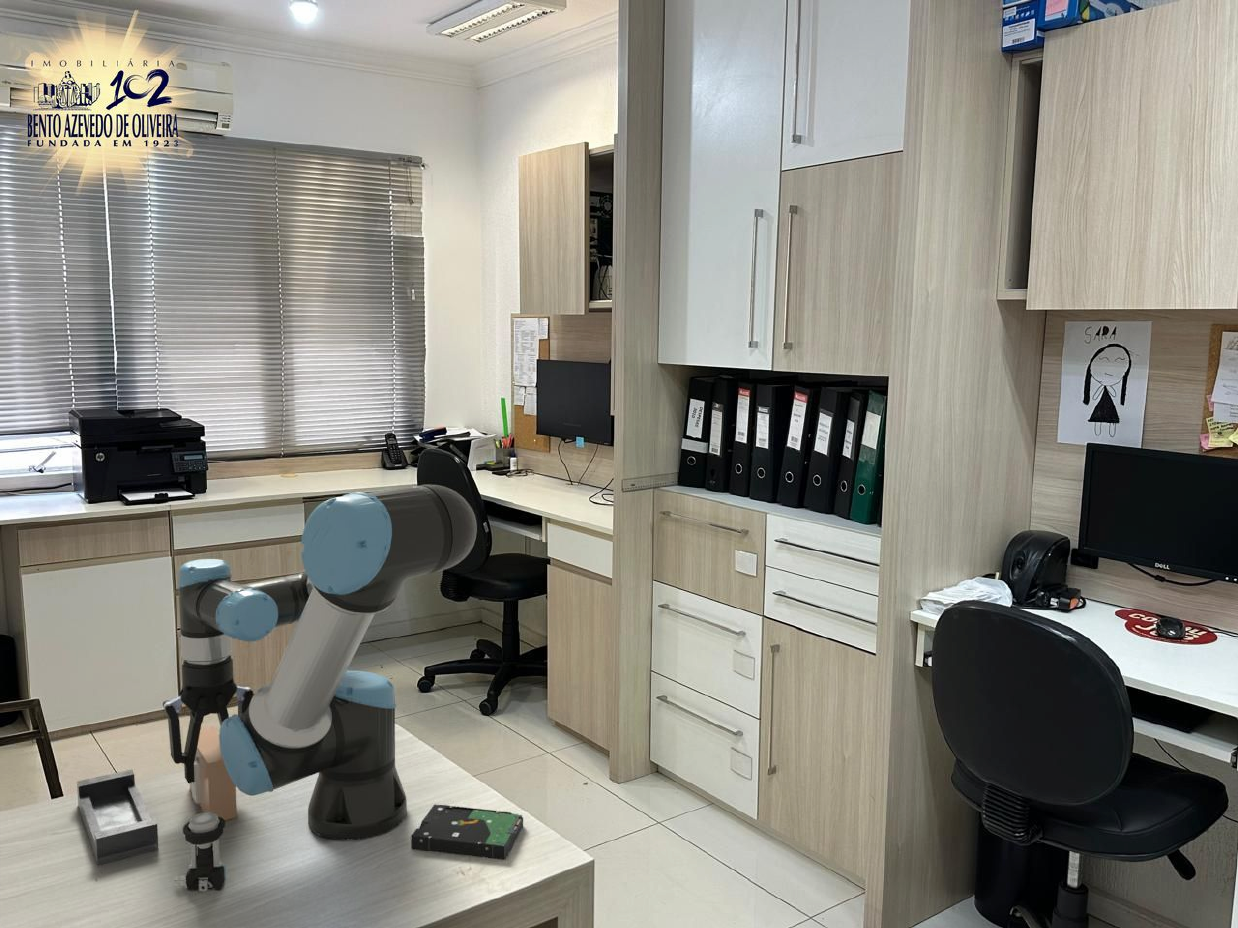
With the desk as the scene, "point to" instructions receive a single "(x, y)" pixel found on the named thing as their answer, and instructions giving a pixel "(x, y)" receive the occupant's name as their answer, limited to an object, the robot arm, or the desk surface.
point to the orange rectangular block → (214, 777)
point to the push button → (204, 853)
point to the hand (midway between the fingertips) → (212, 795)
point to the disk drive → (467, 832)
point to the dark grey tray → (116, 817)
